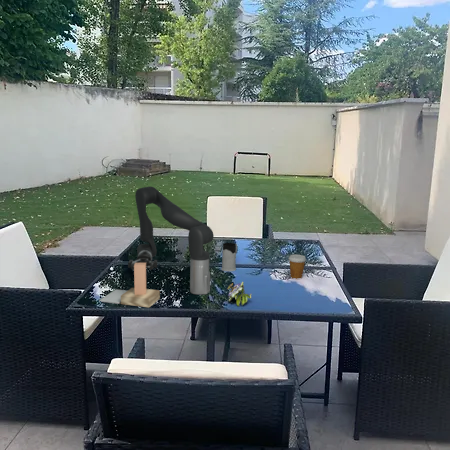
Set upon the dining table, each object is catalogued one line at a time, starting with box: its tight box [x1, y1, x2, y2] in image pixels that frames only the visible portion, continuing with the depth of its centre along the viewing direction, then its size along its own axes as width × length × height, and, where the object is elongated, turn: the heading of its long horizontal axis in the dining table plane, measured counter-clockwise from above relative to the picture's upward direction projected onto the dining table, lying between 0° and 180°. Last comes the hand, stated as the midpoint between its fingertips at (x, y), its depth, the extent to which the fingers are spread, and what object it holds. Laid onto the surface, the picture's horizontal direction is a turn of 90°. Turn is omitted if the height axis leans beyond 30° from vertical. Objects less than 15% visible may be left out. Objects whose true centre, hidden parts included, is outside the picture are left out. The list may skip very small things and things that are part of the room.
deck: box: [120, 287, 161, 308], centre depth 210 cm, size 14×12×4 cm
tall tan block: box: [133, 263, 147, 295], centre depth 209 cm, size 5×4×14 cm
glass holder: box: [221, 242, 238, 272], centre depth 266 cm, size 9×14×15 cm, turn 152°
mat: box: [98, 288, 128, 305], centre depth 216 cm, size 10×16×1 cm, turn 165°
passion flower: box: [226, 281, 252, 307], centre depth 212 cm, size 11×11×12 cm
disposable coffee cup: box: [288, 254, 307, 279], centre depth 251 cm, size 10×10×12 cm
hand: (141, 268), depth 219 cm, fingers open, 8 cm apart
